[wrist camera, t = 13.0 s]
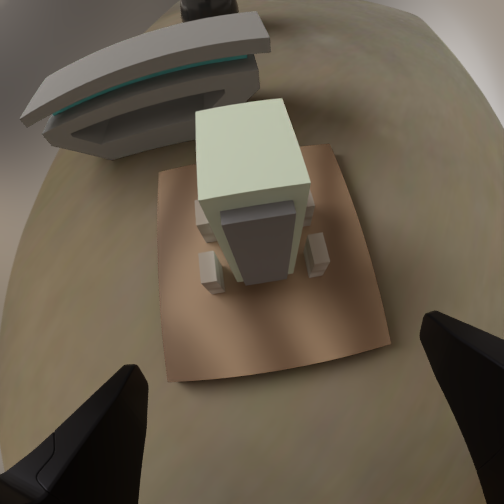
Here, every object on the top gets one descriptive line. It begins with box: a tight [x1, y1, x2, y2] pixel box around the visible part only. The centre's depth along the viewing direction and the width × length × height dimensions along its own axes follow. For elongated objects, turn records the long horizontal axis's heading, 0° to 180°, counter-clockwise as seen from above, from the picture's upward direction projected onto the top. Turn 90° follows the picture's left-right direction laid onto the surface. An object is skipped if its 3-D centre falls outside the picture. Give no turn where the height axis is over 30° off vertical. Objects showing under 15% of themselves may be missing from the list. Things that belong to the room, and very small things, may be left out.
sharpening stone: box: [20, 11, 271, 160], centre depth 24 cm, size 25×8×11 cm, turn 97°
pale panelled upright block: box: [195, 98, 311, 286], centre depth 15 cm, size 4×6×11 cm
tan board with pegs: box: [157, 144, 391, 382], centre depth 20 cm, size 16×18×4 cm
